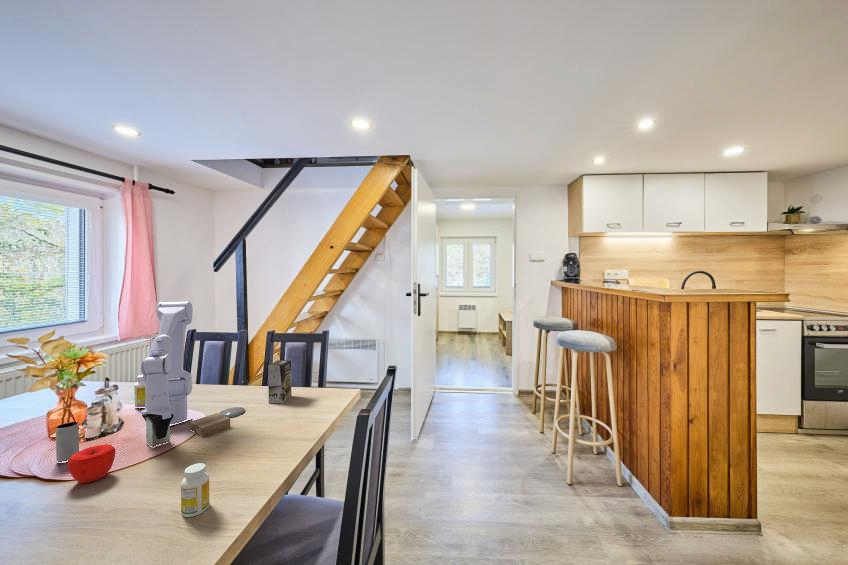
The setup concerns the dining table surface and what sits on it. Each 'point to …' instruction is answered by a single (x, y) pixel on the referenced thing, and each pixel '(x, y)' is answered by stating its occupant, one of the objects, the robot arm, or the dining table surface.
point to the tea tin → (154, 433)
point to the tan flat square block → (209, 424)
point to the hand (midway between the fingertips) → (158, 436)
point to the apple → (91, 463)
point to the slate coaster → (232, 412)
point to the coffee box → (279, 381)
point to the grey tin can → (67, 441)
